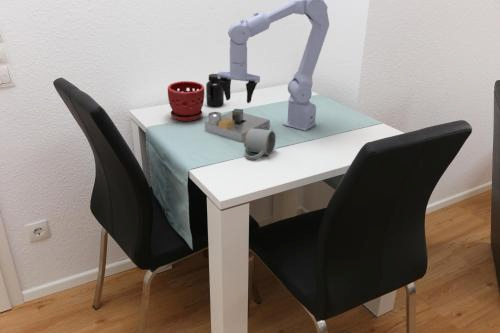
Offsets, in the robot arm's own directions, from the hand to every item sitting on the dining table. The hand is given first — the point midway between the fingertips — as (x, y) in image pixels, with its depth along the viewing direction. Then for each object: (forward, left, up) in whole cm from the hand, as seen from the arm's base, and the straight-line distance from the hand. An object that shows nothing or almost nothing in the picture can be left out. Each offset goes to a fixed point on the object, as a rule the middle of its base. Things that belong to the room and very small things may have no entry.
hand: (238, 100), depth 161 cm
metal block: (-1, +1, -10) cm, 10 cm away
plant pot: (+21, +4, -10) cm, 24 cm away
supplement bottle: (+22, -13, -10) cm, 28 cm away
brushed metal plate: (-1, +2, -10) cm, 10 cm away
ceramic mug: (-18, +13, -10) cm, 25 cm away
